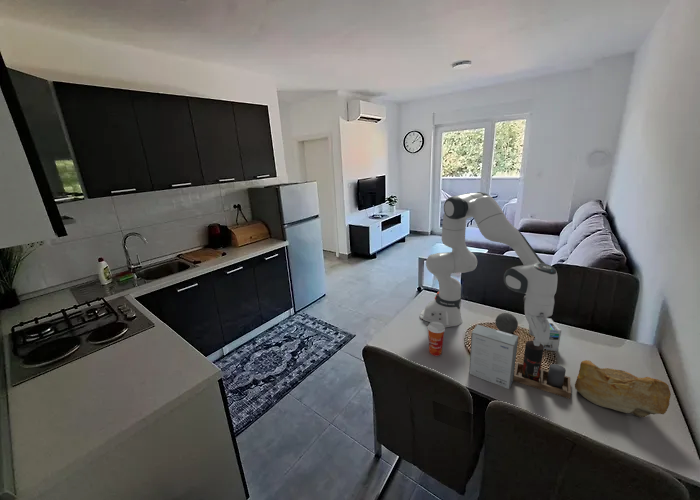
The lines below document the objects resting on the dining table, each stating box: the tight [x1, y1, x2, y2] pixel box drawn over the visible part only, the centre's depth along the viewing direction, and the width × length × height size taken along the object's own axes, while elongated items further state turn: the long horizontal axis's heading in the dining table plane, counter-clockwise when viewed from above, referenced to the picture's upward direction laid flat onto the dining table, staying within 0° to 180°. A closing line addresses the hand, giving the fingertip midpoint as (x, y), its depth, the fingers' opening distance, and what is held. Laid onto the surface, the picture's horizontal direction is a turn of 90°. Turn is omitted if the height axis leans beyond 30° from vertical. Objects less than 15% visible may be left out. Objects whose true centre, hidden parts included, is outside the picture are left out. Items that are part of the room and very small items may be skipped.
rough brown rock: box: [574, 359, 672, 418], centre depth 103 cm, size 23×17×15 cm
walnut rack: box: [513, 361, 572, 399], centre depth 114 cm, size 18×9×3 cm, turn 56°
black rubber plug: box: [547, 363, 566, 389], centre depth 111 cm, size 5×5×8 cm
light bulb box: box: [541, 317, 562, 352], centre depth 136 cm, size 11×7×11 cm, turn 168°
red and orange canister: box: [426, 322, 446, 357], centre depth 134 cm, size 8×8×14 cm
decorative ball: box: [494, 312, 519, 334], centre depth 147 cm, size 10×10×10 cm
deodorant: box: [522, 340, 545, 382], centre depth 115 cm, size 6×6×15 cm
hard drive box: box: [468, 324, 519, 390], centre depth 117 cm, size 16×8×20 cm, turn 50°
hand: (533, 339), depth 112 cm, fingers open, 5 cm apart
